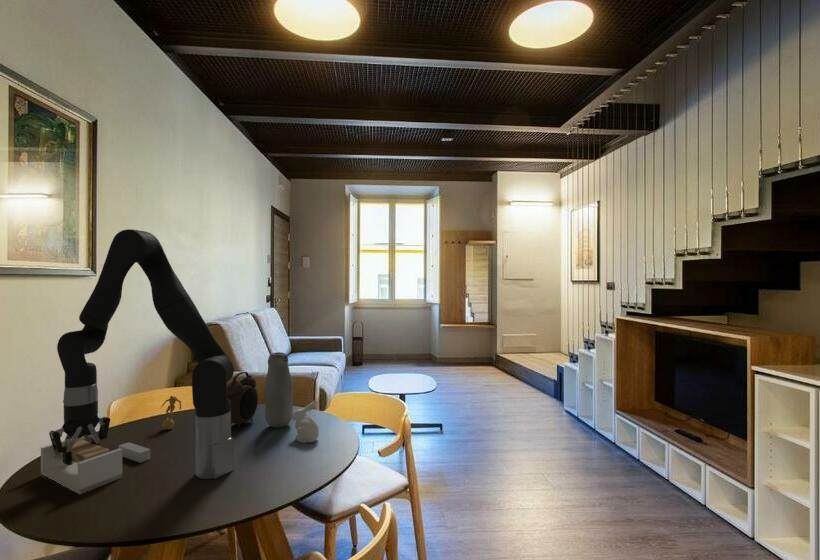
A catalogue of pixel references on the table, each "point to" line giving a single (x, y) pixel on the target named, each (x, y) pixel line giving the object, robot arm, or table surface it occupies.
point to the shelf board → (84, 450)
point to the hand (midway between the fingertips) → (81, 460)
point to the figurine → (168, 422)
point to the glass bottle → (278, 391)
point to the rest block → (135, 452)
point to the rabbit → (306, 424)
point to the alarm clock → (242, 399)
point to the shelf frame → (82, 469)
